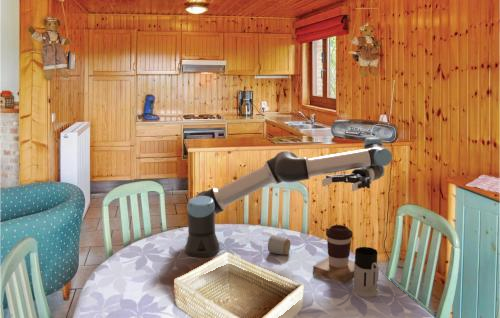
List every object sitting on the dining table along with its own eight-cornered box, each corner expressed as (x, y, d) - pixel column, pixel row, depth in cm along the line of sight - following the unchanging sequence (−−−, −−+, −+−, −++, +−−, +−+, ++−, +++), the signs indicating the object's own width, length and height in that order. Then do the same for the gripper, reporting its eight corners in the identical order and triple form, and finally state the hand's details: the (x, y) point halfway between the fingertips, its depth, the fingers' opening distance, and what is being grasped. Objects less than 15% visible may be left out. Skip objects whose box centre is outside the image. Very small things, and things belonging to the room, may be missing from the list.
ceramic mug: (285, 258, 185) (285, 240, 184) (267, 254, 188) (267, 237, 187) (293, 249, 194) (293, 232, 193) (276, 246, 198) (276, 230, 197)
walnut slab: (313, 273, 170) (313, 266, 170) (331, 261, 180) (332, 254, 180) (345, 283, 161) (345, 276, 160) (363, 271, 171) (363, 263, 171)
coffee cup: (334, 271, 164) (335, 233, 161) (320, 261, 173) (321, 225, 171) (356, 267, 168) (357, 230, 165) (342, 257, 177) (343, 222, 174)
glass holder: (371, 284, 161) (373, 245, 158) (389, 303, 147) (391, 261, 144) (348, 286, 159) (349, 247, 157) (364, 305, 145) (365, 263, 143)
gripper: (389, 188, 185) (365, 199, 169) (337, 180, 201) (311, 189, 185) (389, 170, 183) (366, 180, 168) (337, 164, 200) (311, 172, 184)
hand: (337, 185), depth 177 cm, fingers open, 13 cm apart
